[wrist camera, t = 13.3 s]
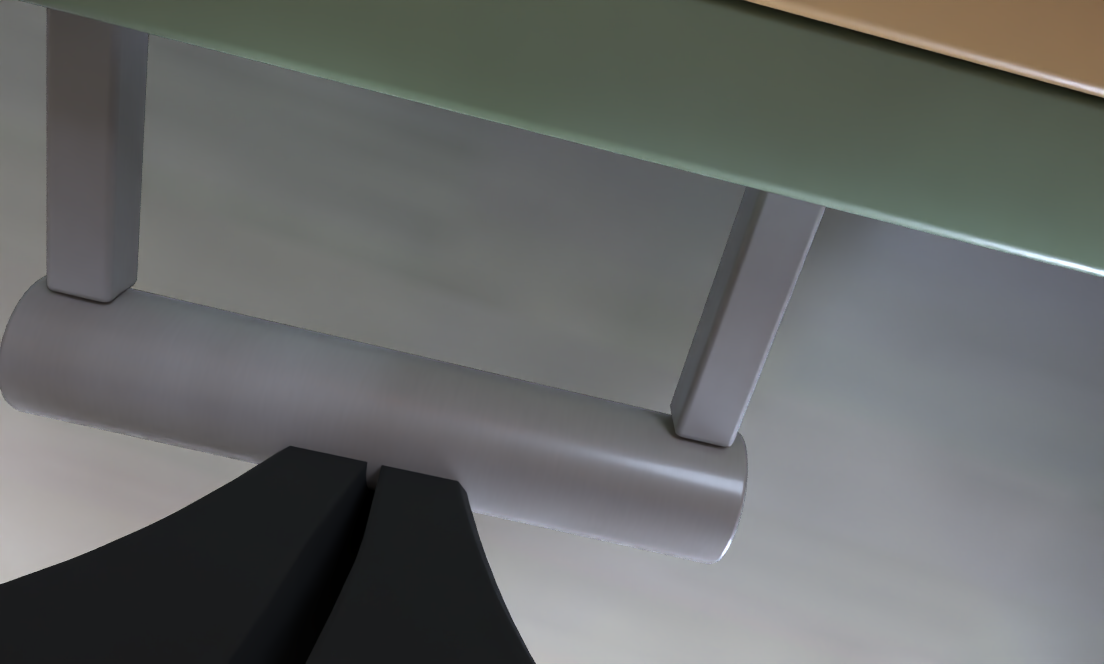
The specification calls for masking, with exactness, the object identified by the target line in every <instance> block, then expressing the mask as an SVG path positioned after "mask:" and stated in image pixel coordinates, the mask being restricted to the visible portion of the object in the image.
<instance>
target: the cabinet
mask: <svg viewBox="0 0 1104 664" xmlns="http://www.w3.org/2000/svg"><path fill="white" fill-rule="evenodd" d="M745 1H749V2H752V3H756V4H760V5H763V6H767V7H771V8H774V9H778V10H782V11H785V12H789V13H793V14H796V15H800V16H804V17H807V18H811V19H815V20H818V21H822V22H826V23H830V24H833V25H837V26H841V27H844V28H848V29H852V30H855V31H859V32H863V33H866V34H870V35H874V36H877V37H881V38H885V39H888V40H892V41H896V42H899V43H903V44H907V45H910V46H914V47H918V48H922V49H925V50H929V51H933V52H936V53H940V54H944V55H947V56H951V57H955V58H958V59H962V60H966V61H969V62H973V63H977V64H980V65H984V66H988V67H991V68H995V69H999V70H1003V71H1006V72H1010V73H1014V74H1017V75H1021V76H1025V77H1028V78H1032V79H1036V80H1039V81H1043V82H1047V83H1050V84H1054V85H1058V86H1061V87H1065V88H1069V89H1072V90H1076V91H1080V92H1084V93H1087V94H1091V95H1095V96H1098V97H1102V98H1104V0H745Z"/></svg>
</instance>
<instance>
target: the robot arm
mask: <svg viewBox="0 0 1104 664" xmlns="http://www.w3.org/2000/svg"><path fill="white" fill-rule="evenodd" d="M366 471H367V462H366V461H361V460H356V459H351V458H347V457H342V456H337V455H332V454H328V453H323V452H318V451H313V450H308V449H304V448H299V447H294V446H288V447H287V448H285V449H283V450H281V451H279V452H277V453H276V454H274V455H273V456H271V457H269V458H268V459H266V460H265V461H263V462H262V463H260V464H258V465H257V466H255V467H254V468H252V469H251V470H249V471H247V472H246V473H244V474H243V475H241V476H239V477H238V478H236V479H234V480H233V481H231V482H229V483H228V484H226V485H224V486H222V487H220V488H219V489H217V490H215V491H213V492H211V493H210V494H208V495H206V496H204V497H203V498H201V499H199V500H197V501H195V502H194V503H192V504H190V505H188V506H186V507H185V508H183V509H181V510H179V511H177V512H175V513H173V514H171V515H169V516H167V517H165V518H163V519H161V520H159V521H157V522H155V523H153V524H151V525H149V526H147V527H145V528H142V529H140V530H138V531H136V532H134V533H131V534H129V535H127V536H124V537H122V538H120V539H118V540H115V541H113V542H111V543H108V544H106V545H104V546H102V547H99V548H97V549H95V550H92V551H90V552H88V553H85V554H83V555H80V556H78V557H75V558H73V559H70V560H67V561H65V562H62V563H59V564H56V565H53V566H51V567H48V568H45V569H42V570H39V571H37V572H34V573H31V574H28V575H26V576H23V577H20V578H17V579H14V580H12V581H9V582H6V583H3V584H0V664H536V663H535V662H534V660H533V658H532V656H531V655H530V653H529V651H528V649H527V647H526V645H525V643H524V641H523V639H522V637H521V635H520V633H519V632H518V630H517V628H516V626H515V624H514V622H513V620H512V618H511V615H510V613H509V611H508V609H507V607H506V605H505V602H504V600H503V598H502V596H501V593H500V591H499V589H498V586H497V584H496V581H495V579H494V576H493V573H492V571H491V568H490V566H489V563H488V561H487V558H486V555H485V552H484V549H483V547H482V544H481V541H480V538H479V535H478V531H477V528H476V524H475V521H474V517H473V514H472V510H471V507H470V503H469V500H468V495H467V492H466V490H465V489H464V488H463V487H462V485H461V484H460V483H459V481H456V480H451V479H446V478H442V477H437V476H432V475H427V474H423V473H418V472H413V471H408V470H404V469H399V468H394V467H389V466H385V465H381V469H380V473H379V477H378V481H377V485H376V489H375V490H372V489H369V488H368V486H367V482H366Z"/></svg>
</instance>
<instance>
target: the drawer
mask: <svg viewBox="0 0 1104 664" xmlns="http://www.w3.org/2000/svg"><path fill="white" fill-rule="evenodd" d="M19 1H23V2H27V3H31V4H35V5H39V6H43V7H46V8H47V275H46V276H44V277H42V278H40V279H39V280H38V281H36V282H35V283H34V284H33V285H32V286H31V287H30V288H29V289H28V290H27V291H26V292H25V293H24V295H23V296H22V298H21V299H20V300H19V302H18V304H17V305H16V307H15V309H14V311H13V313H12V314H11V316H10V319H9V321H8V324H7V326H6V329H5V332H4V335H3V338H2V342H1V347H0V390H1V393H2V395H3V397H4V399H5V400H6V402H7V403H8V404H9V405H11V406H12V407H13V408H15V409H16V410H18V411H21V412H25V413H30V414H34V415H39V416H43V417H48V418H52V419H57V420H61V421H66V422H70V423H75V424H79V425H84V426H88V427H93V428H97V429H102V430H106V431H111V432H115V433H120V434H124V435H129V436H133V437H138V438H142V439H147V440H151V441H156V442H160V443H165V444H169V445H174V446H178V447H183V448H187V449H192V450H196V451H201V452H205V453H210V454H214V455H219V456H223V457H228V458H232V459H237V460H241V461H246V462H251V463H255V464H260V463H262V462H263V461H265V460H266V459H268V458H269V457H271V456H273V455H274V454H276V453H277V452H279V451H281V450H283V449H285V448H287V447H288V446H294V447H299V448H304V449H308V450H313V451H318V452H323V453H328V454H332V455H337V456H342V457H347V458H351V459H356V460H361V461H366V462H367V471H366V482H367V486H368V488H369V489H372V490H375V489H376V485H377V481H378V477H379V473H380V469H381V465H385V466H389V467H394V468H399V469H404V470H408V471H413V472H418V473H423V474H427V475H432V476H437V477H442V478H446V479H451V480H456V481H459V483H460V484H461V485H462V487H463V488H464V489H465V490H466V492H467V495H468V500H469V503H470V507H471V510H472V512H476V513H480V514H485V515H489V516H494V517H498V518H503V519H507V520H512V521H516V522H521V523H525V524H530V525H534V526H539V527H543V528H548V529H552V530H557V531H561V532H566V533H570V534H575V535H579V536H584V537H588V538H593V539H597V540H602V541H606V542H611V543H615V544H620V545H625V546H629V547H634V548H638V549H643V550H647V551H652V552H656V553H661V554H665V555H670V556H674V557H679V558H683V559H688V560H692V561H697V562H701V563H706V564H712V563H716V562H718V561H719V560H720V559H721V558H722V557H723V556H724V555H725V553H726V552H727V550H728V548H729V546H730V545H731V542H732V540H733V538H734V536H735V533H736V530H737V528H738V525H739V522H740V518H741V514H742V510H743V506H744V501H745V495H746V488H747V476H748V460H747V450H746V445H745V441H744V439H743V437H742V435H741V434H740V433H738V430H739V427H740V425H741V422H742V420H743V417H744V415H745V412H746V410H747V407H748V404H749V402H750V399H751V397H752V394H753V392H754V389H755V387H756V384H757V381H758V379H759V376H760V374H761V371H762V369H763V366H764V364H765V361H766V359H767V356H768V353H769V351H770V348H771V346H772V343H773V341H774V338H775V336H776V333H777V330H778V328H779V325H780V323H781V320H782V318H783V315H784V313H785V310H786V308H787V305H788V302H789V300H790V297H791V295H792V292H793V290H794V287H795V285H796V282H797V279H798V277H799V274H800V272H801V269H802V267H803V264H804V262H805V259H806V257H807V254H808V251H809V249H810V246H811V244H812V241H813V239H814V236H815V234H816V231H817V228H818V226H819V223H820V221H821V218H822V216H823V213H824V211H825V208H826V207H829V208H833V209H837V210H841V211H845V212H849V213H853V214H857V215H861V216H864V217H868V218H872V219H876V220H880V221H884V222H888V223H892V224H896V225H900V226H904V227H907V228H911V229H915V230H919V231H923V232H927V233H931V234H935V235H939V236H943V237H947V238H951V239H954V240H958V241H962V242H966V243H970V244H974V245H978V246H982V247H986V248H990V249H994V250H997V251H1001V252H1005V253H1009V254H1013V255H1017V256H1021V257H1025V258H1029V259H1033V260H1037V261H1041V262H1044V263H1048V264H1052V265H1056V266H1060V267H1064V268H1068V269H1072V270H1076V271H1080V272H1084V273H1088V274H1091V275H1095V276H1099V277H1103V278H1104V98H1102V97H1098V96H1095V95H1091V94H1087V93H1084V92H1080V91H1076V90H1072V89H1069V88H1065V87H1061V86H1058V85H1054V84H1050V83H1047V82H1043V81H1039V80H1036V79H1032V78H1028V77H1025V76H1021V75H1017V74H1014V73H1010V72H1006V71H1003V70H999V69H995V68H991V67H988V66H984V65H980V64H977V63H973V62H969V61H966V60H962V59H958V58H955V57H951V56H947V55H944V54H940V53H936V52H933V51H929V50H925V49H922V48H918V47H914V46H910V45H907V44H903V43H899V42H896V41H892V40H888V39H885V38H881V37H877V36H874V35H870V34H866V33H863V32H859V31H855V30H852V29H848V28H844V27H841V26H837V25H833V24H830V23H826V22H822V21H818V20H815V19H811V18H807V17H804V16H800V15H796V14H793V13H789V12H785V11H782V10H778V9H774V8H771V7H767V6H763V5H760V4H756V3H752V2H749V1H745V0H19ZM149 34H152V35H156V36H160V37H164V38H168V39H172V40H176V41H180V42H183V43H187V44H191V45H195V46H199V47H203V48H207V49H211V50H215V51H219V52H223V53H227V54H230V55H234V56H238V57H242V58H246V59H250V60H254V61H258V62H262V63H266V64H270V65H273V66H277V67H281V68H285V69H289V70H293V71H297V72H301V73H305V74H309V75H313V76H317V77H320V78H324V79H328V80H332V81H336V82H340V83H344V84H348V85H352V86H356V87H360V88H363V89H367V90H371V91H375V92H379V93H383V94H387V95H391V96H395V97H399V98H403V99H407V100H410V101H414V102H418V103H422V104H426V105H430V106H434V107H438V108H442V109H446V110H450V111H454V112H457V113H461V114H465V115H469V116H473V117H477V118H481V119H485V120H489V121H493V122H497V123H500V124H504V125H508V126H512V127H516V128H520V129H524V130H528V131H532V132H536V133H540V134H544V135H547V136H551V137H555V138H559V139H563V140H567V141H571V142H575V143H579V144H583V145H587V146H590V147H594V148H598V149H602V150H606V151H610V152H614V153H618V154H622V155H626V156H630V157H634V158H637V159H641V160H645V161H649V162H653V163H657V164H661V165H665V166H669V167H673V168H677V169H680V170H684V171H688V172H692V173H696V174H700V175H704V176H708V177H712V178H716V179H720V180H724V181H727V182H731V183H735V184H739V185H743V186H746V189H745V192H744V195H743V198H742V201H741V204H740V207H739V209H738V212H737V215H736V218H735V221H734V224H733V227H732V229H731V232H730V235H729V238H728V241H727V244H726V247H725V250H724V252H723V255H722V258H721V261H720V264H719V267H718V270H717V272H716V275H715V278H714V281H713V284H712V287H711V290H710V293H709V295H708V298H707V301H706V304H705V307H704V310H703V313H702V316H701V318H700V321H699V324H698V327H697V330H696V333H695V336H694V338H693V341H692V344H691V347H690V350H689V353H688V356H687V359H686V361H685V364H684V367H683V370H682V373H681V376H680V379H679V381H678V384H677V387H676V390H675V393H674V396H673V399H672V402H671V404H670V408H671V414H672V415H670V414H666V413H661V412H657V411H653V410H649V409H644V408H640V407H636V406H632V405H627V404H623V403H619V402H614V401H610V400H606V399H602V398H597V397H593V396H589V395H585V394H580V393H576V392H572V391H568V390H563V389H559V388H555V387H550V386H546V385H542V384H538V383H533V382H529V381H525V380H521V379H516V378H512V377H508V376H503V375H499V374H495V373H491V372H486V371H482V370H478V369H474V368H469V367H465V366H461V365H456V364H452V363H448V362H444V361H439V360H435V359H431V358H427V357H422V356H418V355H414V354H409V353H405V352H401V351H397V350H392V349H388V348H384V347H380V346H375V345H371V344H367V343H362V342H358V341H354V340H350V339H345V338H341V337H337V336H333V335H328V334H324V333H320V332H315V331H311V330H307V329H303V328H298V327H294V326H290V325H286V324H281V323H277V322H273V321H269V320H264V319H260V318H256V317H251V316H247V315H243V314H239V313H234V312H230V311H226V310H222V309H217V308H213V307H209V306H204V305H200V304H196V303H192V302H187V301H183V300H179V299H175V298H170V297H166V296H162V295H157V294H153V293H149V292H145V291H140V290H136V289H132V288H130V287H131V286H133V285H134V284H135V282H136V280H137V269H138V248H139V227H140V206H141V184H142V163H143V142H144V121H145V100H146V78H147V57H148V36H149Z"/></svg>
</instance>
